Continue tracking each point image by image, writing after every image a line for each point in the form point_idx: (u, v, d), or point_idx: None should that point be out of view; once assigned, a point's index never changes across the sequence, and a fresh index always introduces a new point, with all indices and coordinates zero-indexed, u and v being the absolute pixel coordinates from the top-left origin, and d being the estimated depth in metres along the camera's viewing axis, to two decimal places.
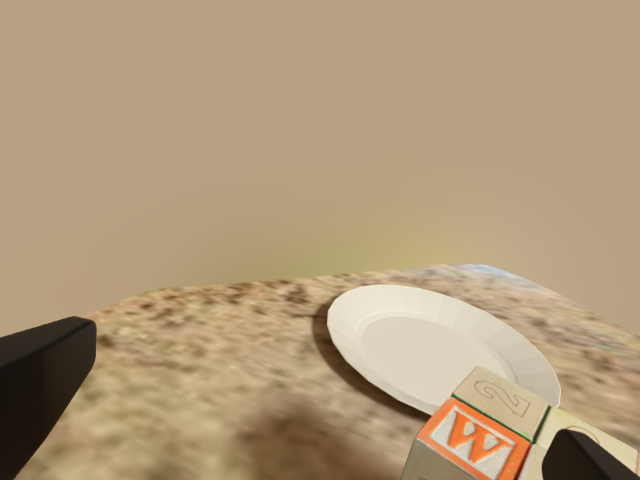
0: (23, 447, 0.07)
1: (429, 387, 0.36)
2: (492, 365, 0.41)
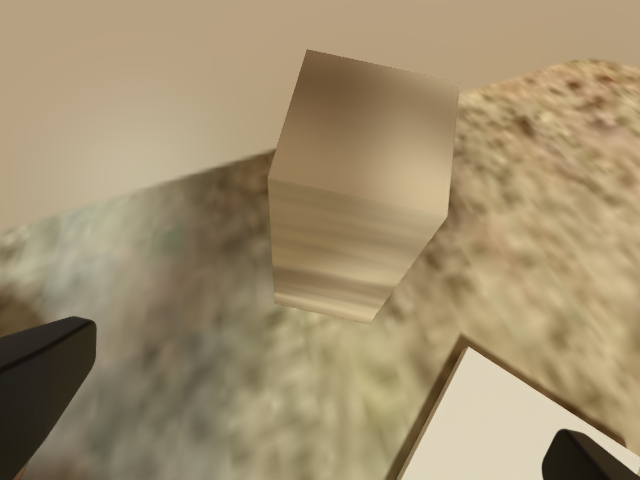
0: (23, 447, 0.07)
1: None
2: None
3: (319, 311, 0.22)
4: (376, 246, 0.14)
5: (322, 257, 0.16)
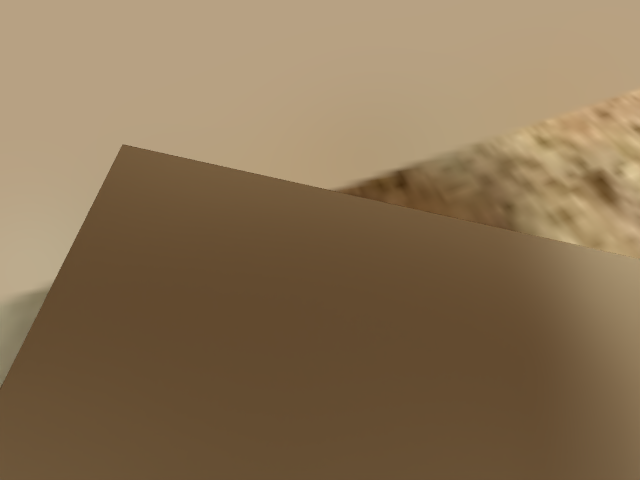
0: None
1: None
2: None
3: None
4: None
5: None
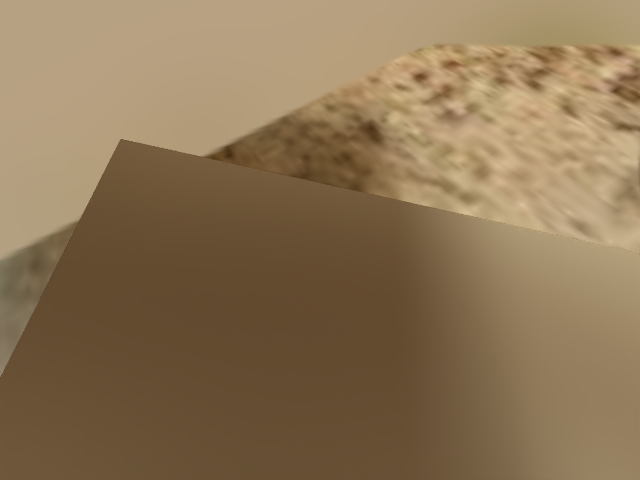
0: None
1: None
2: None
3: None
4: None
5: None
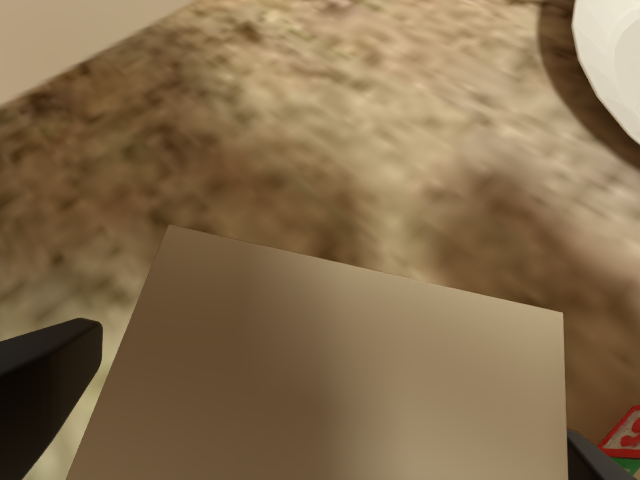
0: (31, 449, 0.07)
1: None
2: None
3: None
4: None
5: None
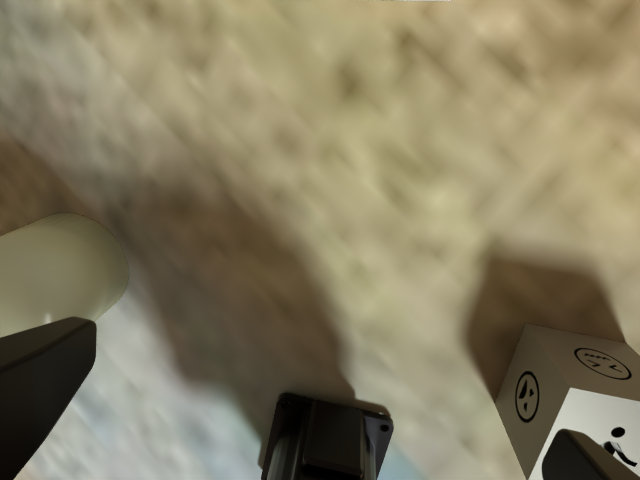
0: (23, 447, 0.07)
1: None
2: None
3: None
4: None
5: None
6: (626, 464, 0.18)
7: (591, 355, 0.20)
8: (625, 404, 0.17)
